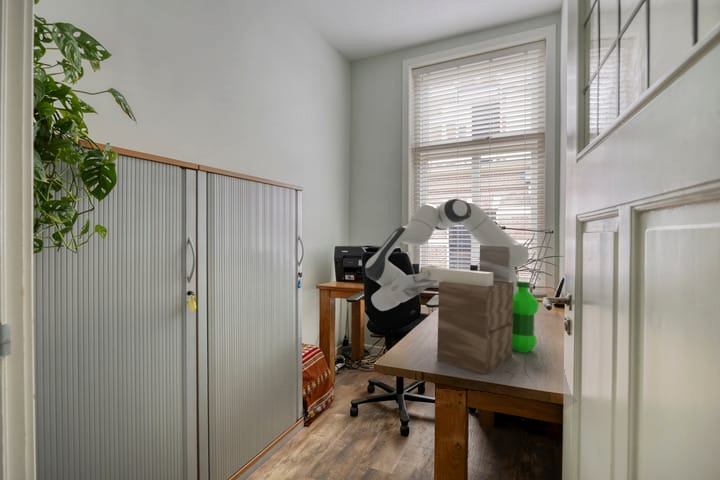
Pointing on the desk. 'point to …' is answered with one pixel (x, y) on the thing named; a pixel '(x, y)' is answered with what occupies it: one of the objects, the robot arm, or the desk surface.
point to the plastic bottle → (523, 318)
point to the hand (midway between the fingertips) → (433, 272)
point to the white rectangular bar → (459, 276)
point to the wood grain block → (478, 317)
